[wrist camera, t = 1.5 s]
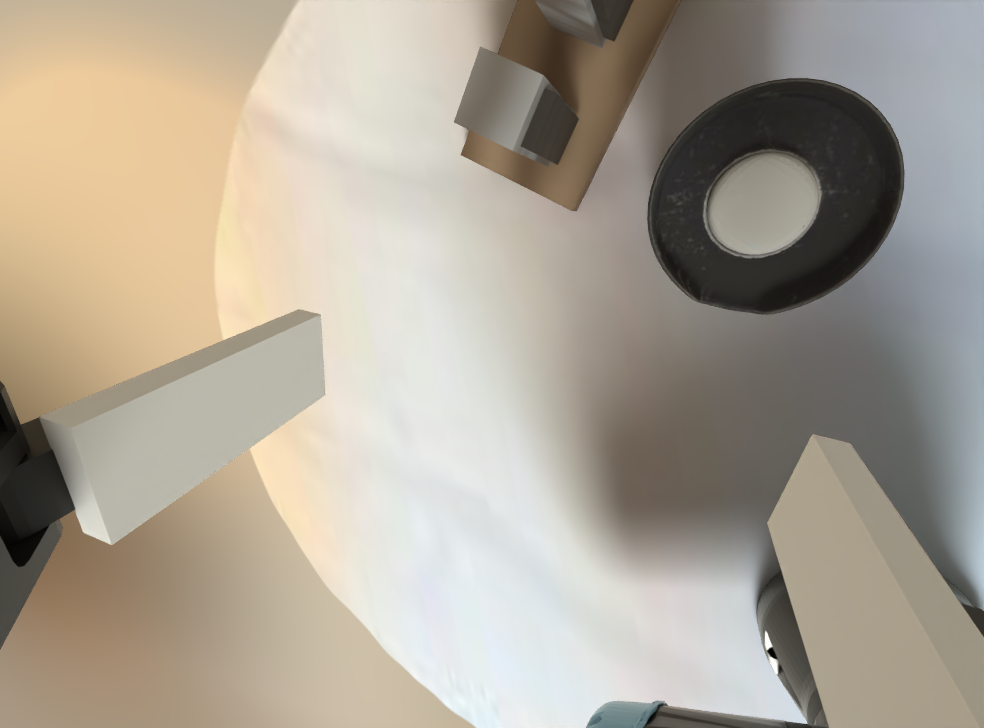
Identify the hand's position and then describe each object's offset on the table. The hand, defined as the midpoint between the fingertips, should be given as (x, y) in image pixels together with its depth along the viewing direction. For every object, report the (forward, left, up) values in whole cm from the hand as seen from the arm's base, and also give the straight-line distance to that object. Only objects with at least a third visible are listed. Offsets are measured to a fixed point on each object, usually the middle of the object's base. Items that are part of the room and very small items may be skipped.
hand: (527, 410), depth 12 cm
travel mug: (-3, -7, -27) cm, 28 cm away
